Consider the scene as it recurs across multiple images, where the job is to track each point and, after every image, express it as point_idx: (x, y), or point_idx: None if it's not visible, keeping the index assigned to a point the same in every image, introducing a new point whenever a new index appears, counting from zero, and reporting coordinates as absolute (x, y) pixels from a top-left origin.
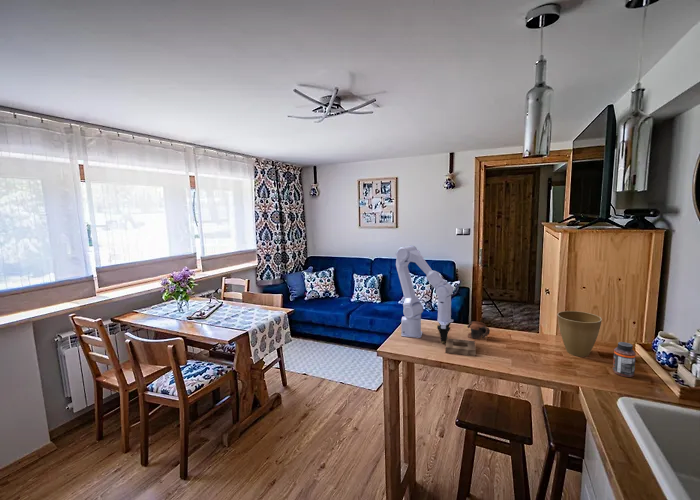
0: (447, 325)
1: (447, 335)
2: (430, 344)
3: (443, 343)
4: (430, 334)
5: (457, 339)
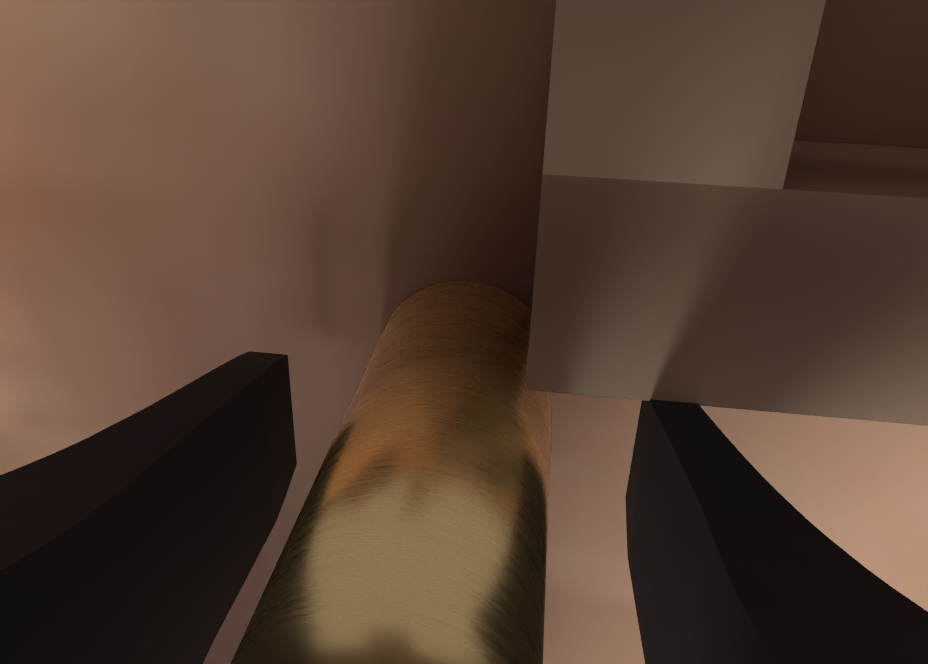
0: (52, 628)
1: (465, 408)
2: None
3: None
4: None
5: (559, 15)
